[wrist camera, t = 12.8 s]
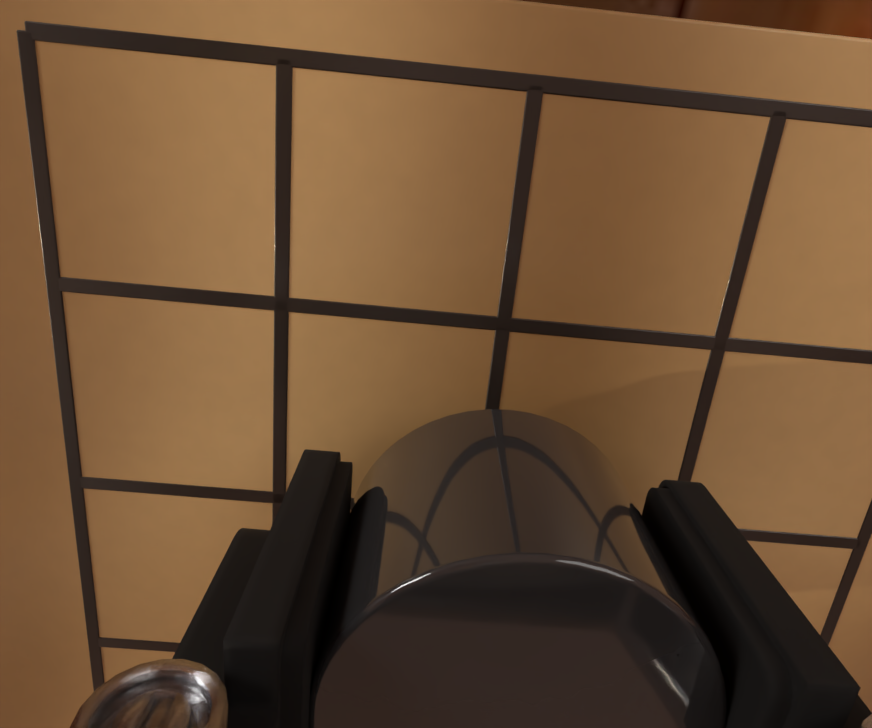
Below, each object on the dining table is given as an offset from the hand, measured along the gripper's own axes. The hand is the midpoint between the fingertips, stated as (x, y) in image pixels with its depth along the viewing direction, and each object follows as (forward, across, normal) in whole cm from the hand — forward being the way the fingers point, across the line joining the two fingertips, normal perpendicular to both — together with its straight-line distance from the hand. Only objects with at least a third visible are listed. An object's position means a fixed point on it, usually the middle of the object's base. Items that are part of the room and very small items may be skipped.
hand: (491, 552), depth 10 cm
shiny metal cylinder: (0, 0, 0) cm, 0 cm away
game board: (+3, 0, 0) cm, 3 cm away
